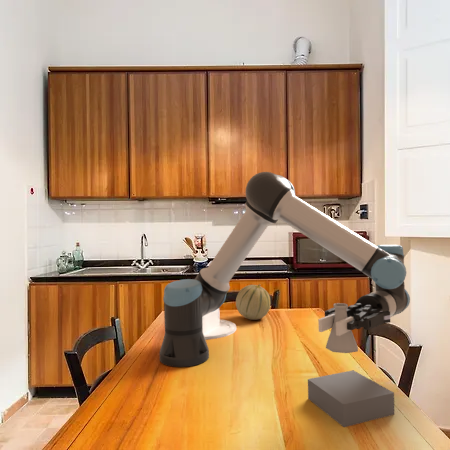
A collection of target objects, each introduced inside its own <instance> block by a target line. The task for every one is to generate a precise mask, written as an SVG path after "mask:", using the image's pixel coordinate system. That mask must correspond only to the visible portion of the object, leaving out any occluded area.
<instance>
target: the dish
mask: <svg viewBox="0 0 450 450" xmlns="http://www.w3.org/2000/svg"><path fill="white" fill-rule="evenodd" d="M220 315H221V314H220V307H219V308H218V309H217V310H215V311H213V312H210V313H208V314H206V315H204V316H203V317H202V324H203V325H202V327H203V334H204V337H205V340H206V341H207V340H214V339H220V338H225V337H228V336H230V335H233V334H234V333H236V331H237V325H236V323H234V322H232V321H230V320H226V319H222V318H221V317H220Z"/></svg>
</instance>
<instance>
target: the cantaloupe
mask: <svg viewBox="0 0 450 450" xmlns="http://www.w3.org/2000/svg"><path fill="white" fill-rule="evenodd" d="M261 285H262V284H260V283H259V284H248V285H245V286H243V287H242V288H241V289H240V290H239V291H238V293H237V295H236V299H235V307H236V309H237V311H238V313H239V314H240V315H241V316H242V317H244V318H245V319H247V320H250V321H251V320H254V321H255V320H260V319H263V318H265V316H266V315H267V314H268V313H269V311H270V310H271V309H270V308H271V296H270V294H269V292H268V291H267V290H266V289H265V288H264V287H263V286H261Z"/></svg>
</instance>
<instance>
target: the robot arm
mask: <svg viewBox="0 0 450 450" xmlns="http://www.w3.org/2000/svg"><path fill="white" fill-rule="evenodd" d="M245 198H246V201H245V203H244V206H245V211H244V213H243V214H242V216H241V217H240V219H239V220H238V222H237V223H236V225H235V227H234V228H233V229H232V230H231V233H230V234H229V235H228V236H227V239H226V240H225V241H224V243H223V244H222V246H221V247H220V248H219V251H218V252H217V253H216V254H215V256H214V257H213V260H212V261H211V262H210V264H209V266H208V267H204V268H201V269H200V270H199V272H198V274H197V275H196V277H195V278H192V279H191V278H187V279H186V278H185V279H184V278H183V279H179V280H174V281H172V282H170V283H169V282H168V283H167V284H166V285H165V287H164V289H163V309H164V310H163V313H164V314H163V315H164V336H163V339H162V340H163V341H162V342H161V346H160V349H159V361H160V363H161V364H163V365H165V366H168V367H174V368H186V367H193V366H197V365H201V364H203V363H204V362H206V361H207V360H209V358H210V352H209V351H210V350H209V346H208V342H207V339H206V340H205V337H204V334H203V327H202V325H203V324H202V317H203V316H204V315H206V314H208V313H210V312H213V311H215V310H217V309H218V308H219V309H220V307H222V305H223V304H224V303H225V301H226V297H227V293H228V292H229V291H230V288H231V286H230V281H231V280H232V278H234V275H236V272H237V271H239V268H240V267H241V265H242V264H243V263H244V261H245V259H246V258H247V256H248V255H249V254H250V252H251V251H252V250H253V248H254V247H255V245H256V244H257V242H258V241H259V240H260V238H261V237H262V235H264V234H263V233H264V232H265V231H266V230H267V228H268V227H269V226H272V225H276V223H277V222H278V220H280V221H282V222H283V223H284V224H286V225H288V226H290V227H291V228H293V229H294V230H296V231H298V232H299V233H300V234H302V235H303V236H306V237H307V238H308V239H310V240H311V241H313V242H314V243H316V244H318V245H320V247H323V248H324V249H325V250H327V251H329V252H330V253H332V254H333V255H335V256H336V257H338V258H340V259H341V260H342V261H344V262H346V263H347V264H348V265H350V266H352V267H353V268H355V269H356V270H358V271H360V272H362V273H363V274H364V275H366V276H367V277H369V278H370V279H371V280H372V281H373V282H374V291H372V292H370V293H367V294H365V295H362V296H360V297H359V298H358V299H357V300H356V302H355V303H354V304H351V305H349V306H348V307H347V317H348V318H345V319H343V320H341V321H338V322H336V335H337V336H340V335H342V334H344V333H347V332H349V331H351V330H352V331H354V330H360V329H362V328H363V330H366V331H369V330H371V329H374V328H377V327H379V326H381V325H384V324H389V323H391V318H392V317H394V316H396V315H399V314H401V313H403V312H404V311H405V310H406V309H407V308H409V306H410V303H411V297H410V294H409V292H408V291H407V289H406V288H405V279H406V277H407V268H406V265H405V254H404V248H403V246H402V245H399V244H377V245H376V244H374V243H372V242H371V241H369V240H368V239H366V238H364V237H362V236H361V235H359V234H358V233H357V232H354V231H353V230H351V229H350V228H348V227H346V226H345V225H343V224H341V223H340V222H338V221H337V220H335V219H333V218H331V217H330V216H329V215H328V214H327V215H326V214H325V213H324V212H322V211H320V210H318V209H317V208H316V207H315V206H312V205H310V204H309V203H307V202H306V201H304V200H303V199H301V198H299V197H298V196H296V190H295V187H294V185H293V183H292V182H291V181H290V180H289V179H287V178H286V177H284V176H283V175H279V174H276V173H274V172H270V171H262V172H258V173H255V174H254V175H253V176H251V178H250V179H249V180H248V182H247V183H246V186H245ZM334 317H335V308H334V307H331V308H329V309H327V310H324V316H322V317H321V318H318V332H319V333H323V332H325V331H328V330H331V329H332V326H333V323H334Z"/></svg>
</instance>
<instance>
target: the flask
mask: <svg viewBox="0 0 450 450" xmlns="http://www.w3.org/2000/svg"><path fill="white" fill-rule="evenodd" d="M348 305H349V304H347V303H342V302H341V303H340V302H336V303H333V305H332V306H333V308H335V317H334V323H333V326H332V328H330V333H329V336H328V338H327V341H326V345H325V349H327V350H329V351H330V352H331V353H338V354H339V353H340V354H350V353H357V352H359V346H358V344H357V341H356V338H355V337H354V333H353V330H351V331H349V332H347V333H344V334H342V335H340V336H337V335H336V322H338V321H341V320H343V319H345V318H348V317H347V307H348Z"/></svg>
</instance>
